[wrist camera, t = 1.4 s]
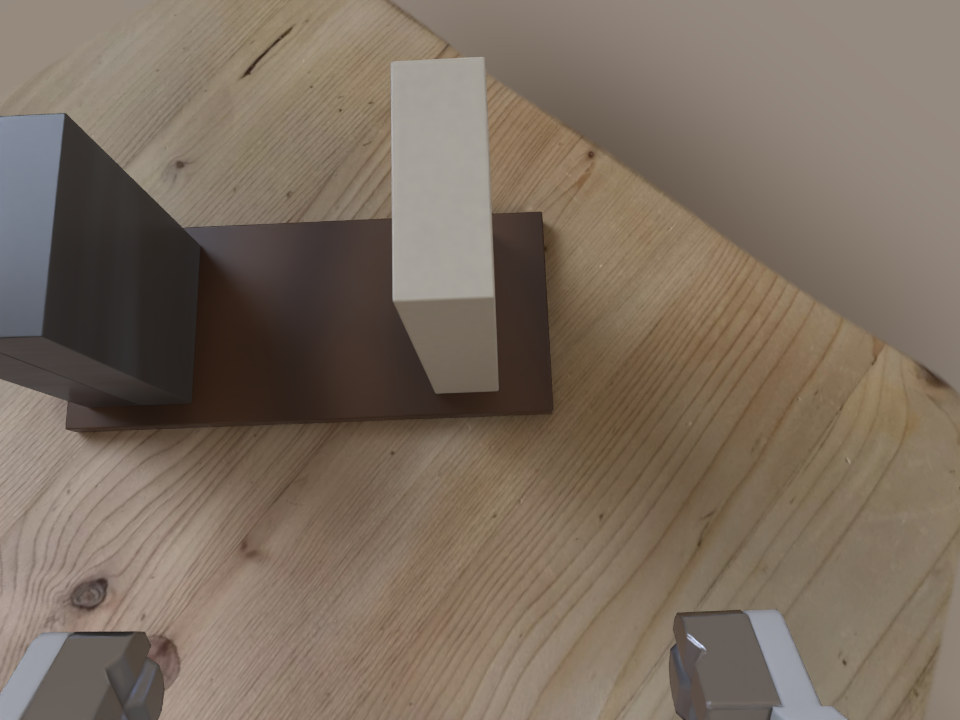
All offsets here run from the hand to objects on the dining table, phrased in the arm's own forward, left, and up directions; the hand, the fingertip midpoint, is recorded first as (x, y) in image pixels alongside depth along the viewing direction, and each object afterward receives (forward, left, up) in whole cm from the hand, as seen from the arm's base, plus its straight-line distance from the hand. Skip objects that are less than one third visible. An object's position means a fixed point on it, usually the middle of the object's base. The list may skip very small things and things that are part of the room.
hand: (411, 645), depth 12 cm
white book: (-8, -10, -23) cm, 26 cm away
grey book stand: (-2, -14, -24) cm, 28 cm away
